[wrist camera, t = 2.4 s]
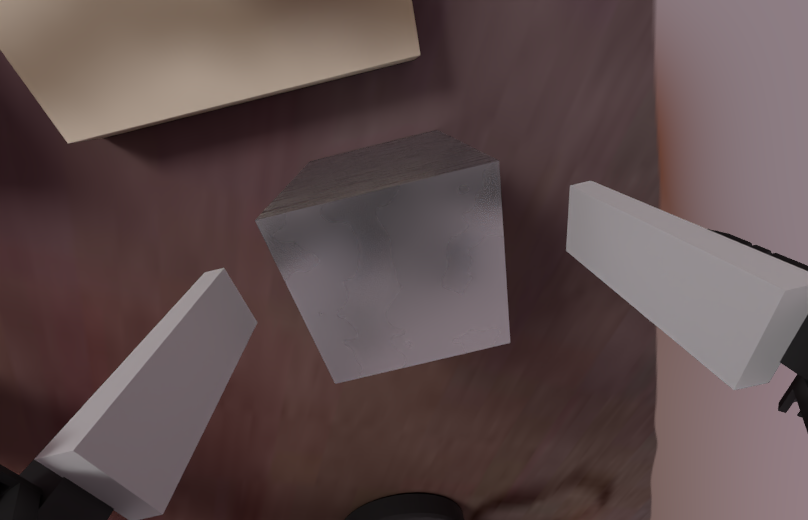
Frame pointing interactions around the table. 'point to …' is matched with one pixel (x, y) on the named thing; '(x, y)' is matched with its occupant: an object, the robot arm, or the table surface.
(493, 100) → the table surface
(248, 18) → the base
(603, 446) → the table surface
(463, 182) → the mottled grey cube
